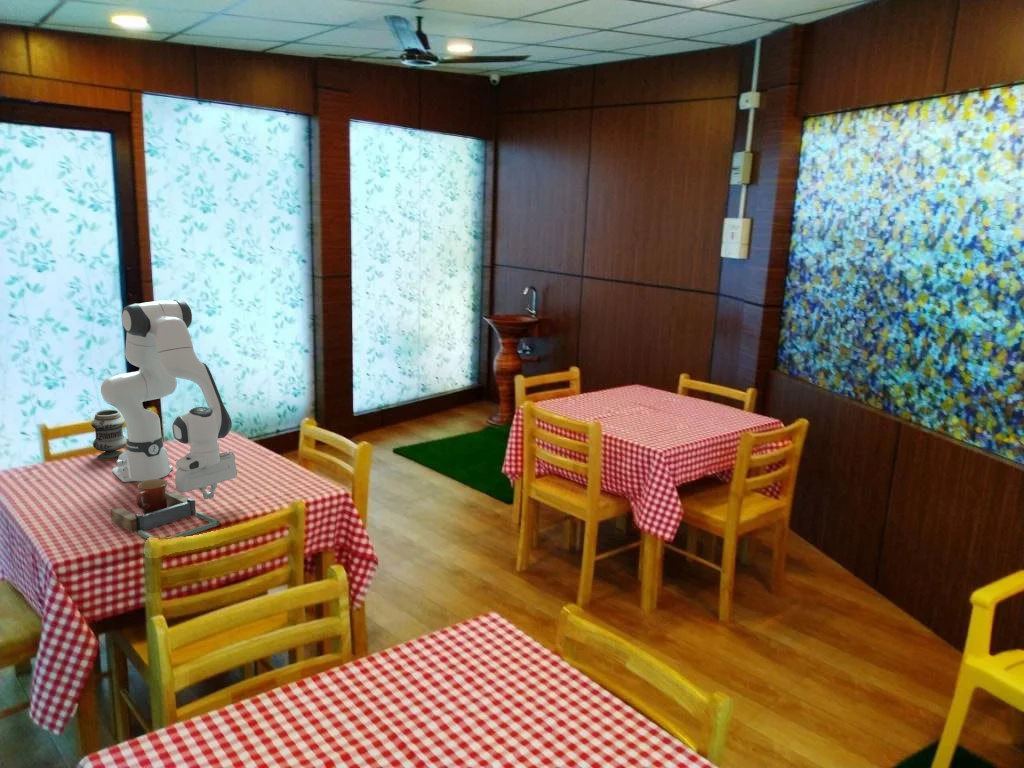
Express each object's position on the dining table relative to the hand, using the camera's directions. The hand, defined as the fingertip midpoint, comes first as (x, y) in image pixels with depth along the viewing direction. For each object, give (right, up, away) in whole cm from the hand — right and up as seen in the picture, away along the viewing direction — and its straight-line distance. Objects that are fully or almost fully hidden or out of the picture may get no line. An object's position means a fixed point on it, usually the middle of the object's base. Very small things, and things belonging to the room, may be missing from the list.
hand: (208, 497), depth 258 cm
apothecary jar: (-58, +9, +52) cm, 78 cm away
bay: (-3, -8, -15) cm, 17 cm away
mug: (-17, -5, -4) cm, 18 cm away
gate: (-9, -7, -10) cm, 15 cm away
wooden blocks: (-15, -5, -5) cm, 17 cm away
